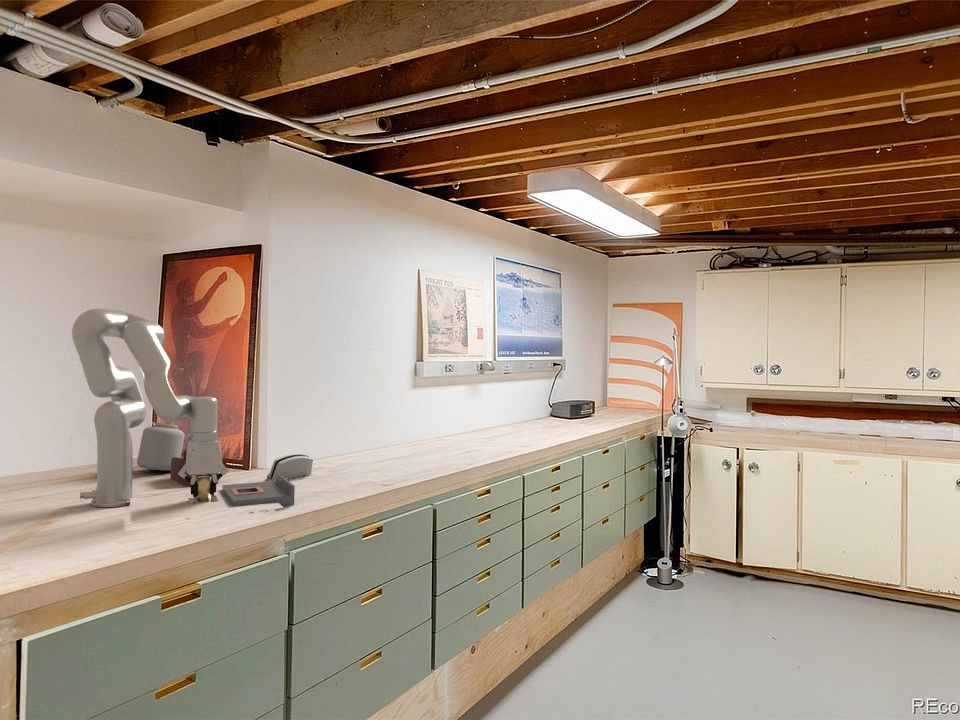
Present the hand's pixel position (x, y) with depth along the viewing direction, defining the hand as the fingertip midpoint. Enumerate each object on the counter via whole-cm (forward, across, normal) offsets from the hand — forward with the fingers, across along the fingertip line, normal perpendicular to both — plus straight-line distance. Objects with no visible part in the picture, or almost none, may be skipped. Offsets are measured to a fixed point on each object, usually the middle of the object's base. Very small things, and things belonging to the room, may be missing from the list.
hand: (203, 495), depth 202 cm
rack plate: (+3, +16, 0) cm, 16 cm away
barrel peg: (+1, 0, 0) cm, 1 cm away
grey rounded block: (+3, +34, +31) cm, 46 cm away
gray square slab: (+3, 0, 0) cm, 3 cm away
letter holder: (+3, +1, +37) cm, 37 cm away
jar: (+3, -8, +62) cm, 63 cm away
